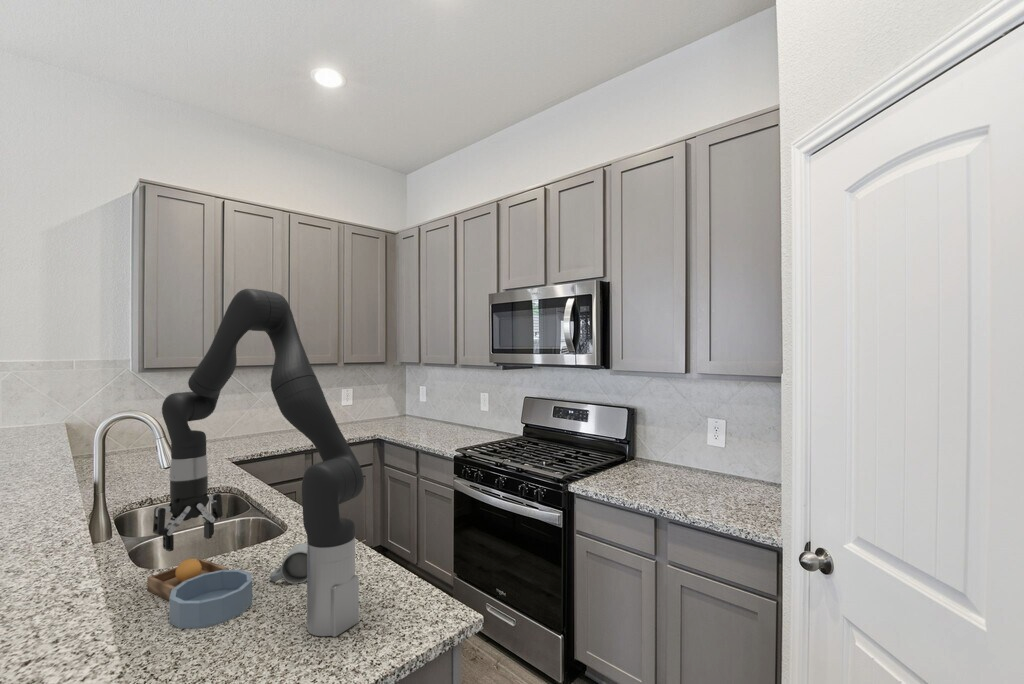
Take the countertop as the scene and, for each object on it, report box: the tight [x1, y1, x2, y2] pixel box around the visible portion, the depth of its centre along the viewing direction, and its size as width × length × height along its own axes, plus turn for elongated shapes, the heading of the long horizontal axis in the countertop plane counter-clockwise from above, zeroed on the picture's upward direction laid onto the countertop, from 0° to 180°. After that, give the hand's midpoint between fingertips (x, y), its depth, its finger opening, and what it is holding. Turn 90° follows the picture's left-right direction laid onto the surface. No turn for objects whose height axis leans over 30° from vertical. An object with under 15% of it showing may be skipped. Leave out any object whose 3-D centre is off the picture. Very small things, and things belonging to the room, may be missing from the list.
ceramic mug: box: [269, 542, 307, 585], centre depth 119 cm, size 11×8×8 cm
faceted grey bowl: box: [168, 569, 253, 629], centre depth 105 cm, size 15×15×5 cm
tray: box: [146, 558, 230, 602], centre depth 115 cm, size 12×12×3 cm
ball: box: [175, 558, 202, 582], centre depth 115 cm, size 5×5×5 cm
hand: (189, 544), depth 115 cm, fingers open, 8 cm apart
